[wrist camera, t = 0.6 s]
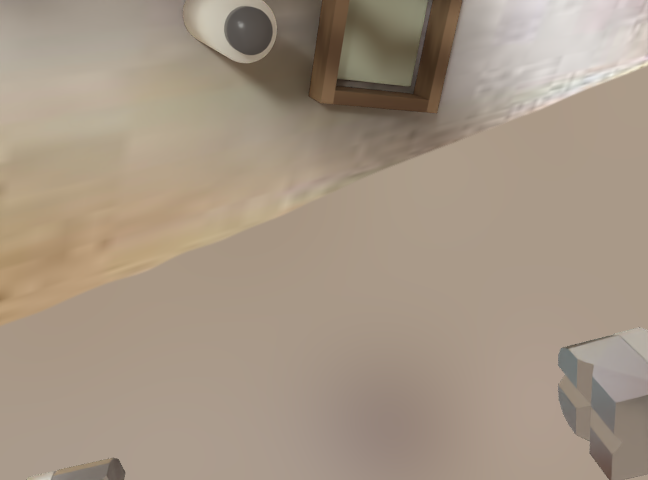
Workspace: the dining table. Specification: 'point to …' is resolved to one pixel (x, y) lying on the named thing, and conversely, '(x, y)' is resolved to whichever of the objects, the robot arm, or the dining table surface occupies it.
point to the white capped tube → (232, 27)
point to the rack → (383, 52)
